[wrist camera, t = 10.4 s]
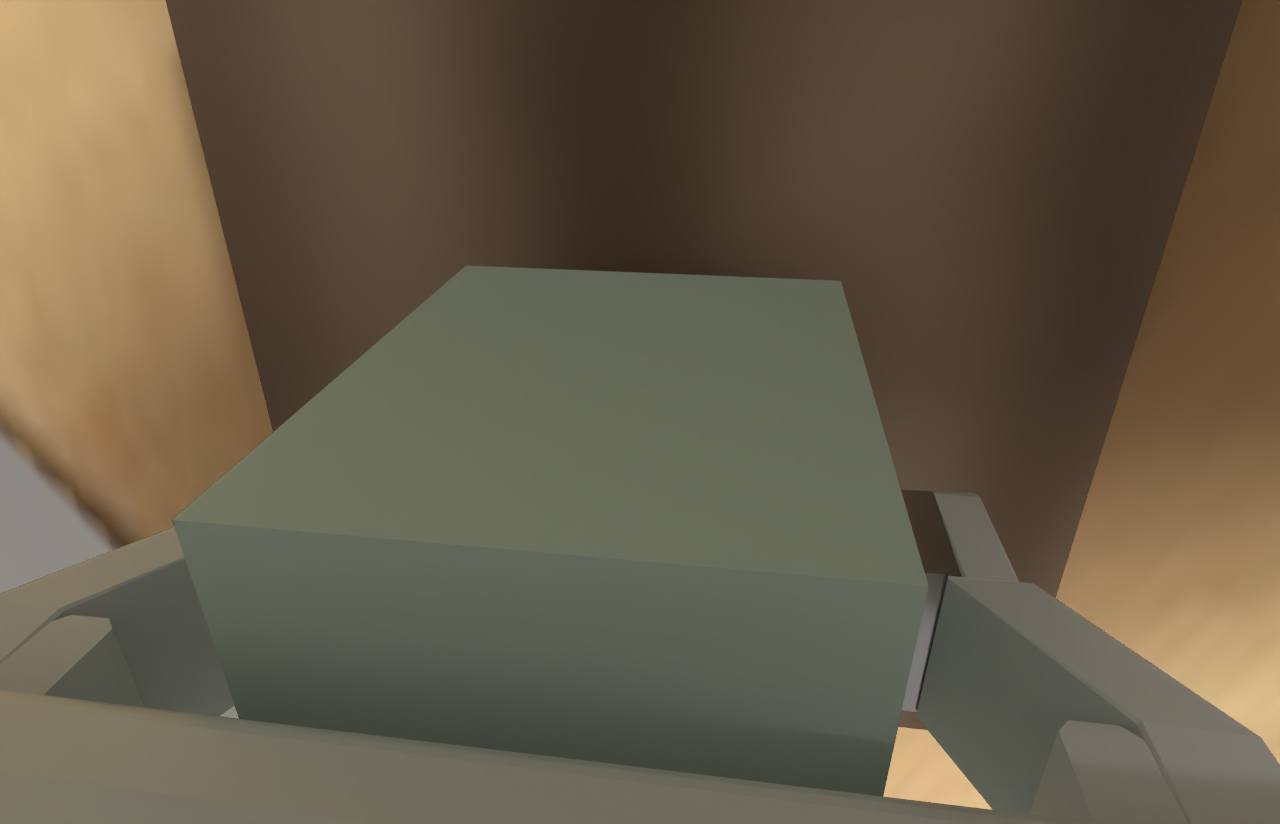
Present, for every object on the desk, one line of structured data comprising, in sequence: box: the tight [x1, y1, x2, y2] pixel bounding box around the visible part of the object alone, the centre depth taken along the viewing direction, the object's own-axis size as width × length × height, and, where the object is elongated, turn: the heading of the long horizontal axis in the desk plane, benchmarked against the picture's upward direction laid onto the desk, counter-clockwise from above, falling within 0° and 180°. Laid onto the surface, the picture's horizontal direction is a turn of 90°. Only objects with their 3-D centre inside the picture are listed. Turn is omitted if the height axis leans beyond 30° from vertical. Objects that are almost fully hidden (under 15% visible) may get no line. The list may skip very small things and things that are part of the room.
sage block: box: [172, 266, 928, 797], centre depth 9 cm, size 5×5×6 cm
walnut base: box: [166, 0, 1242, 730], centre depth 14 cm, size 14×14×3 cm
